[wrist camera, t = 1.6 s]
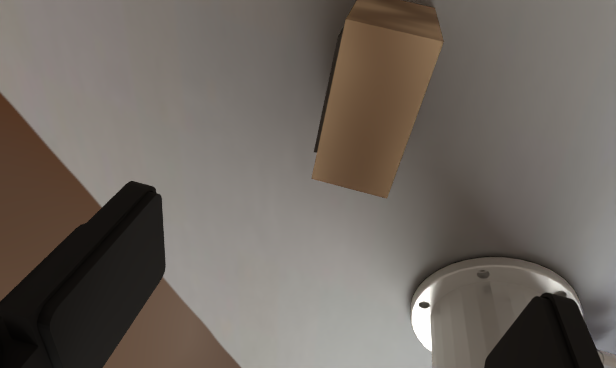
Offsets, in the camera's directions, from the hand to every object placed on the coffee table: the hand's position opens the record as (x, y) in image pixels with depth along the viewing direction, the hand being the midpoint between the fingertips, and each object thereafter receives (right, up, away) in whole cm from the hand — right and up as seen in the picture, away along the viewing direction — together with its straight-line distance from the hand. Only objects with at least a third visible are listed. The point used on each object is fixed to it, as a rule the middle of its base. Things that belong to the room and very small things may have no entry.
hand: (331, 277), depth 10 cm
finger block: (+4, +9, +14) cm, 17 cm away
